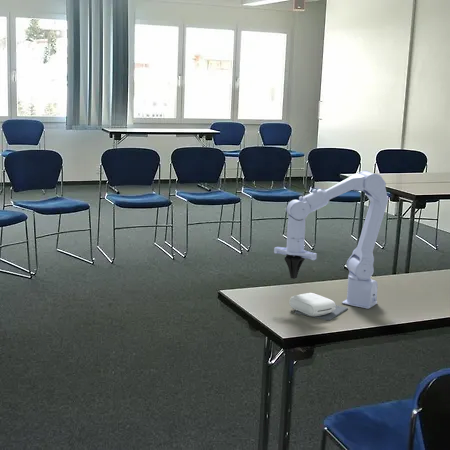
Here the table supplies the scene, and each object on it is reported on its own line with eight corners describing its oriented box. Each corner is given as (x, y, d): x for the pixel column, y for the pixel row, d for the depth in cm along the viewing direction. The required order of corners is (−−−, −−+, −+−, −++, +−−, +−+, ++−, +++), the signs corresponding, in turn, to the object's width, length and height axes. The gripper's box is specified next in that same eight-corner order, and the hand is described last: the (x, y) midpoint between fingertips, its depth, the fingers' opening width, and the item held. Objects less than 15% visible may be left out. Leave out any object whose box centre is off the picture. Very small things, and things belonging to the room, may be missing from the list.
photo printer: (313, 290, 222) (339, 301, 212) (312, 303, 223) (338, 314, 213) (288, 295, 217) (314, 306, 207) (288, 308, 218) (313, 319, 207)
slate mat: (347, 309, 220) (347, 307, 220) (329, 320, 208) (329, 319, 208) (314, 302, 226) (314, 300, 226) (294, 312, 215) (294, 311, 215)
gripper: (270, 236, 219) (268, 276, 222) (310, 242, 211) (308, 284, 214) (280, 232, 225) (278, 272, 227) (320, 238, 217) (317, 279, 220)
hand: (293, 277), depth 221 cm, fingers closed
